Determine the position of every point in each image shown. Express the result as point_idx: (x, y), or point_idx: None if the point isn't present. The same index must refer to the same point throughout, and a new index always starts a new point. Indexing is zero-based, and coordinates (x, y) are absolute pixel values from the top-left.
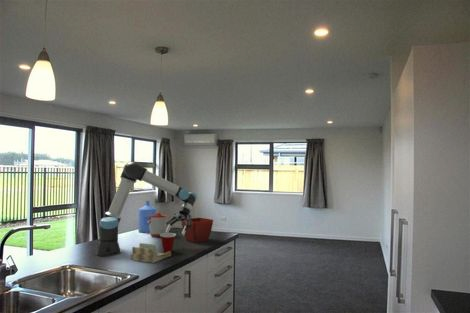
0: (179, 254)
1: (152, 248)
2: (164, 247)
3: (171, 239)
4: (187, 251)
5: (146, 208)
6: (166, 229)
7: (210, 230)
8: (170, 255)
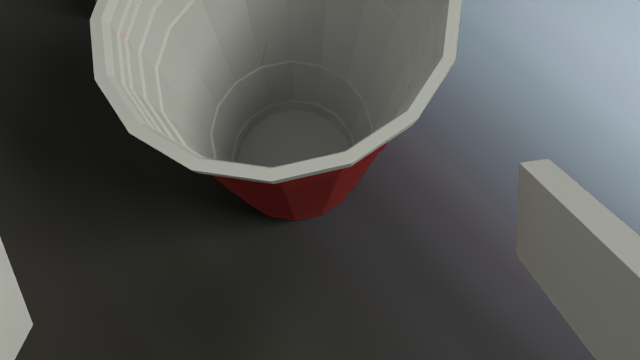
0: (41, 121)
1: None
2: (289, 57)
3: (156, 28)
4: None
5: None
6: (579, 191)
7: None
8: None
